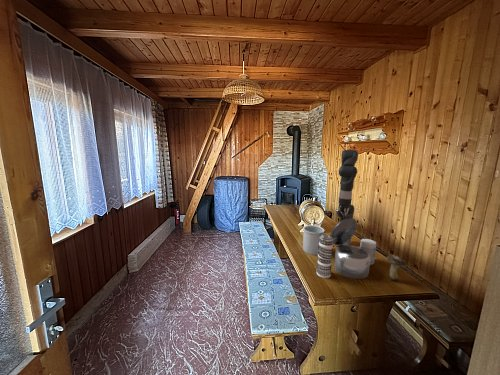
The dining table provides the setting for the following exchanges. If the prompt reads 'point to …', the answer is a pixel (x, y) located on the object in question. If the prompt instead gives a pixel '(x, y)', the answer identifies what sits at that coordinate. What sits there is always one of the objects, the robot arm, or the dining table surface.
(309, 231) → the utensil holder
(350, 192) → the robot arm
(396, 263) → the mushroom
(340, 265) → the cooker pot
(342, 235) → the cooker lid
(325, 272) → the decorative candle
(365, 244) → the supplement tub
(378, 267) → the dining table surface
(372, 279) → the dining table surface
